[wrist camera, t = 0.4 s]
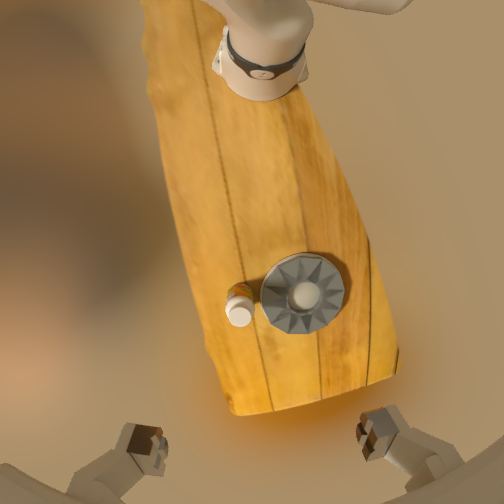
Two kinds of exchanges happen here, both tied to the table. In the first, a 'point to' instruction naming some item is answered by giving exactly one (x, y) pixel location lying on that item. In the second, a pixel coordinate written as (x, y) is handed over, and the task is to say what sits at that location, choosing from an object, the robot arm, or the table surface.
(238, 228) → the table surface
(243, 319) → the supplement bottle
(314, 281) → the grey faceted round plate
